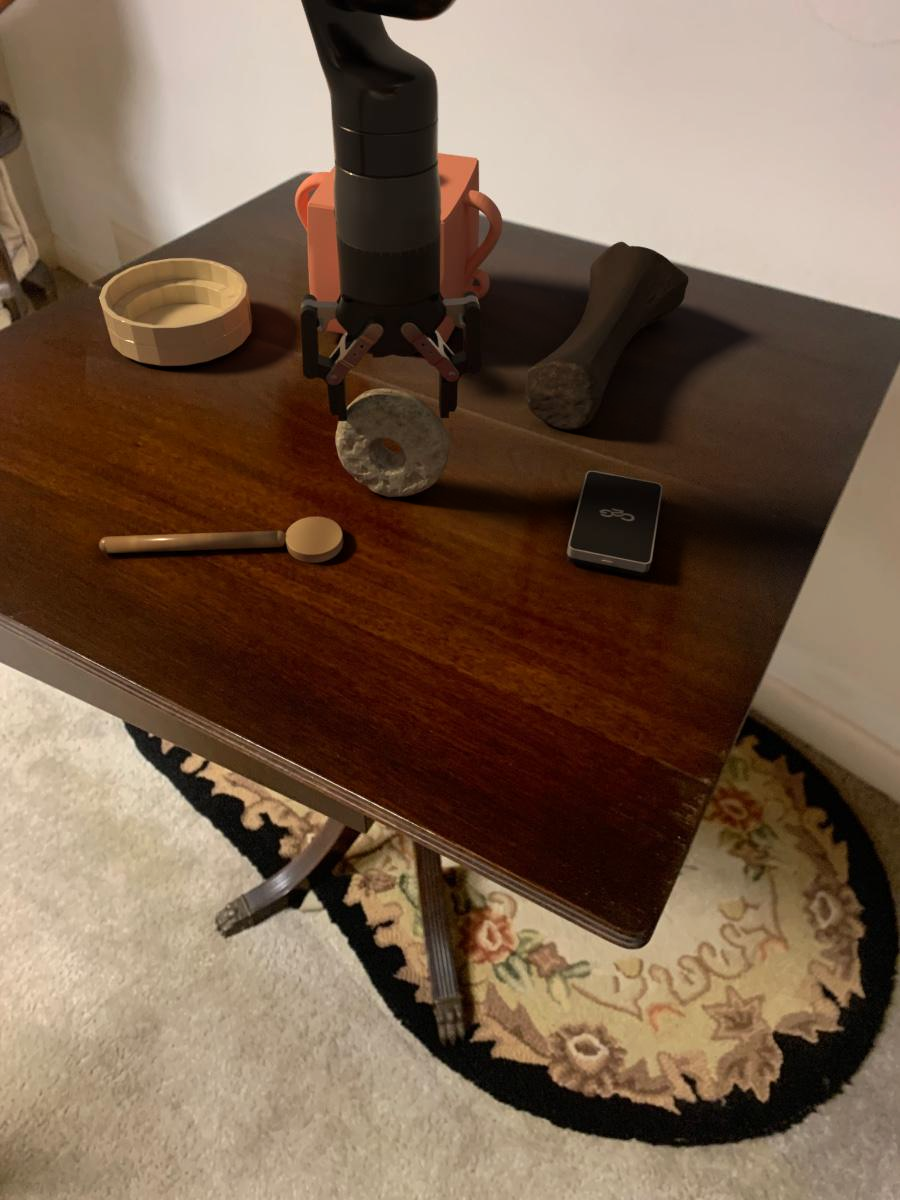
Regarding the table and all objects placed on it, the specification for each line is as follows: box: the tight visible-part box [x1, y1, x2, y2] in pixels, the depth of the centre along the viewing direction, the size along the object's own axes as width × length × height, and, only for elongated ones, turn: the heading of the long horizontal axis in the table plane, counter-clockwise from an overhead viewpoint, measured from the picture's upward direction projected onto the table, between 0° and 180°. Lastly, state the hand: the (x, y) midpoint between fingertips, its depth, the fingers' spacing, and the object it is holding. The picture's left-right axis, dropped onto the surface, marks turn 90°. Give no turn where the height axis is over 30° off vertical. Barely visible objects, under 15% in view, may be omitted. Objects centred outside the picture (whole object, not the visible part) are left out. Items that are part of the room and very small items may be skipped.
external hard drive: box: [566, 470, 663, 578], centre depth 77 cm, size 7×11×2 cm, turn 165°
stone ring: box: [334, 387, 451, 498], centre depth 77 cm, size 10×4×10 cm, turn 73°
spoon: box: [98, 516, 344, 564], centre depth 74 cm, size 20×5×1 cm, turn 95°
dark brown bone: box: [524, 241, 689, 431], centre depth 94 cm, size 11×10×28 cm
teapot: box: [294, 152, 503, 344], centre depth 94 cm, size 25×23×18 cm
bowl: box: [98, 257, 253, 367], centre depth 96 cm, size 15×15×5 cm
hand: (393, 414), depth 75 cm, fingers closed on stone ring, 8 cm apart
